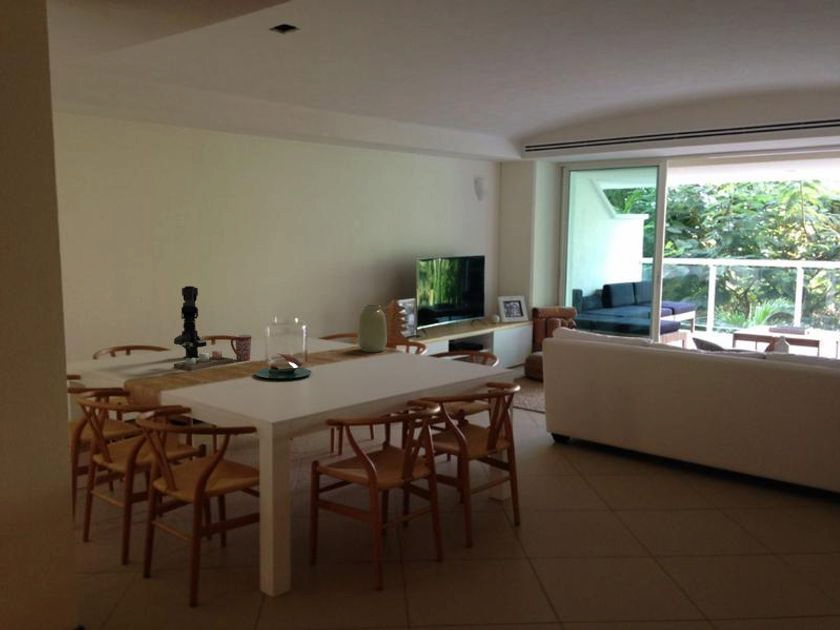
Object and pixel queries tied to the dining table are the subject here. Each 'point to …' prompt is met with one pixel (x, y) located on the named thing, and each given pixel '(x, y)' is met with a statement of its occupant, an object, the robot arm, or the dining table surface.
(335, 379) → the dining table surface
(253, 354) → the dining table surface
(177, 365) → the button board
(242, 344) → the mug
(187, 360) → the button sage
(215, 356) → the button terracotta
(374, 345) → the vase
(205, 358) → the button cream
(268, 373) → the dark teal dish
